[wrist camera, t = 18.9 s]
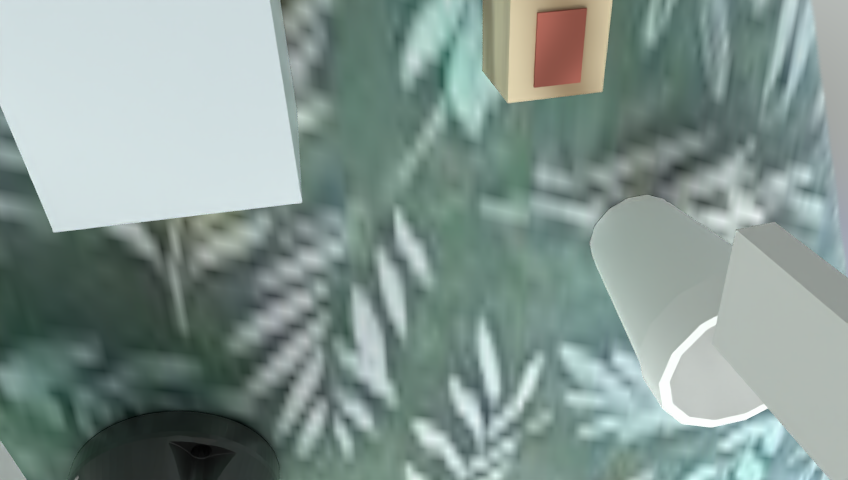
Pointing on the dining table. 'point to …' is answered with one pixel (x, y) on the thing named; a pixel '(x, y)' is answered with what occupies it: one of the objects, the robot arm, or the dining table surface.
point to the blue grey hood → (150, 107)
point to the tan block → (545, 47)
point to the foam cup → (672, 307)
